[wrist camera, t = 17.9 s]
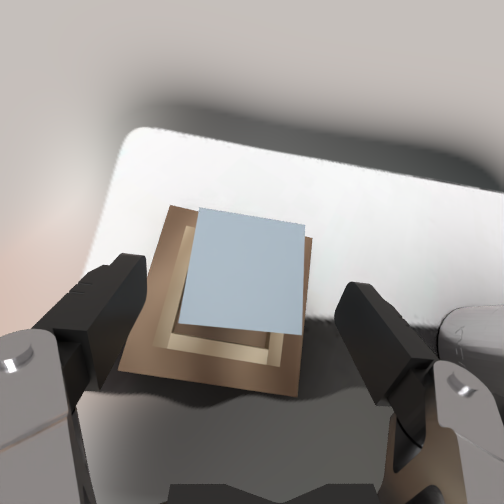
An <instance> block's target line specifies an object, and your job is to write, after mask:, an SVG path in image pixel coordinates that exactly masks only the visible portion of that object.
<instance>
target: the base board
mask: <svg viewBox="0 0 504 504" xmlns="http://www.w3.org/2000/svg"><path fill="white" fill-rule="evenodd" d="M198 213H199V212H198V211H194V210H189V209H185V208H181V207H176V206H172V205H170V207H169V210H168V213H167V216H166V220H165V223H164V226H163V229H162V232H161V235H160V238H159V242H158V245H157V248H156V251H155V254H154V257H153V260H152V264H151V267H150V270H149V273H148V276H147V297H146V301H145V304H144V306H143V308H142V310H141V312H140V314H139V316H138V318H137V320H136V322H135V324H134V326H133V328H132V330H131V332H130V334H129V336H128V339H127V342H126V345H125V348H124V351H123V355H122V358H121V361H120V364H119V367H118V371H124V372H131V373H138V374H145V375H151V376H158V377H165V378H171V379H178V380H185V381H192V382H198V383H205V384H212V385H218V386H225V387H232V388H239V389H245V390H252V391H259V392H265V393H272V394H279V395H286V396H292V397H297V395H298V384H299V374H300V363H301V353H302V342H303V332H304V321H305V311H306V300H307V290H308V279H309V269H310V258H311V248H312V238H309V237H305V242H304V278H303V313H302V335H295V334H285V333H274V332H264V331H254V330H243V329H233V328H223V327H213V326H202V325H192V324H182V323H178V322H179V317H180V311H181V306H182V300H183V295H184V289H185V284H186V278H187V273H188V268H189V262H190V257H191V251H192V246H193V240H194V235H195V229H196V224H197V218H198Z"/></svg>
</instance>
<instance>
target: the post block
mask: <svg viewBox="0 0 504 504" xmlns="http://www.w3.org/2000/svg"><path fill="white" fill-rule="evenodd" d="M304 242H305V225H302V224H296V223H290V222H284V221H278V220H272V219H266V218H260V217H254V216H248V215H242V214H236V213H230V212H224V211H218V210H212V209H206V208H200V207H199V213H198V218H197V224H196V229H195V235H194V240H193V246H192V251H191V257H190V262H189V268H188V273H187V278H186V284H185V289H184V295H183V300H182V306H181V311H180V317H179V322H178V323H182V324H192V325H202V326H213V327H223V328H233V329H243V330H254V331H264V332H274V333H285V334H295V335H302V313H303V278H304Z"/></svg>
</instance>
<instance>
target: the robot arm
mask: <svg viewBox="0 0 504 504" xmlns="http://www.w3.org/2000/svg"><path fill="white" fill-rule="evenodd" d="M146 297H147V268H146V258H145V256H143V255H134V254H126V253H121V254H120V255H119V256H118V257H117V258H116V259H115V260H114V261H113V262H112V264H111V265H110V266H109V265H102V266H100V267H98V268H96V269H94V270H92V271H90V272H88V273H87V274H86V275H85V276H84V277H83V278H82V279H81V280H80V281H79V282H78V284H76V285H75V286H74V287H73V288H72V289H71V290H70V291H69V293H67V294H66V295H65V296H64V297H63V298H62V299H61V300H60V301H59V302H58V303H57V304H56V305H55V306H54V307H52V309H51V310H50V311H48V312H47V313H46V314H45V315H44V316H43V318H41V319H40V320H39V321H38V322H37V323H36V324H35V325H34V326H33V327H32V328H31V329H27V330H21V331H16V332H13V333H10V334H7V335H4V336H2V337H0V504H97V503H96V499H95V495H94V491H93V487H92V482H91V478H90V473H89V469H88V463H87V459H86V454H85V448H84V443H83V438H82V433H81V428H80V423H79V418H78V413H77V408H76V405H77V402H78V401H79V399H80V398H81V396H82V394H83V392H84V391H100V389H101V387H102V385H103V384H104V382H105V380H106V378H107V376H108V374H109V372H110V370H111V368H112V366H113V364H114V362H115V360H116V359H117V357H118V355H119V353H120V351H121V349H122V347H123V345H124V343H125V341H126V339H127V337H128V335H129V334H130V332H131V330H132V328H133V326H134V324H135V322H136V320H137V318H138V316H139V314H140V312H141V310H142V308H143V306H144V304H145V301H146ZM334 320H335V324H336V327H337V329H338V331H339V333H340V335H341V337H342V339H343V341H344V343H345V345H346V347H347V349H348V351H349V353H350V355H351V357H352V359H353V361H354V363H355V365H356V367H357V369H358V371H359V373H360V375H361V377H362V379H363V381H364V383H365V385H366V387H367V389H368V391H369V393H370V395H371V397H372V399H373V401H374V403H375V405H376V406H392V408H393V410H394V413H393V414H392V416H391V417H390V423H389V433H388V443H387V453H386V463H385V473H384V478H383V482H382V485H381V487H380V489H379V491H378V493H376V490H375V488H374V485H373V484H326V485H324V486H322V487H320V488H317V489H315V490H312V491H310V492H308V493H306V494H303V495H301V496H299V497H296V498H294V499H292V500H289V501H287V502H285V503H275V502H272V501H269V500H267V499H264V498H261V497H258V496H256V495H253V494H250V493H247V492H245V491H242V490H239V489H236V488H233V487H231V486H228V485H226V484H188V485H187V484H174V485H173V484H171V485H170V490H169V495H168V501H166V502H163V503H160V504H504V305H494V306H477V307H462V308H459V309H456V310H454V311H453V312H451V313H450V314H449V315H448V316H447V317H446V318H445V319H444V321H443V323H442V325H441V328H440V332H439V337H438V350H439V356H440V360H439V359H438V357H437V356H436V355H435V354H434V353H433V352H432V351H431V349H430V348H429V347H428V346H427V345H426V344H425V343H424V341H423V340H422V339H421V338H420V337H419V336H418V334H417V333H416V332H415V331H414V330H413V329H412V328H410V327H409V326H410V325H409V324H408V323H407V322H406V321H405V319H402V316H401V315H400V314H399V313H398V311H397V310H396V309H395V308H394V307H393V306H392V305H391V304H389V303H388V302H387V301H385V300H384V299H383V298H382V297H381V296H380V295H379V293H378V292H377V291H376V290H375V289H374V287H373V286H372V285H370V284H366V283H358V282H349V283H348V284H347V286H346V288H345V290H344V292H343V294H342V297H341V299H340V301H339V303H338V305H337V308H336V310H335V314H334Z"/></svg>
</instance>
